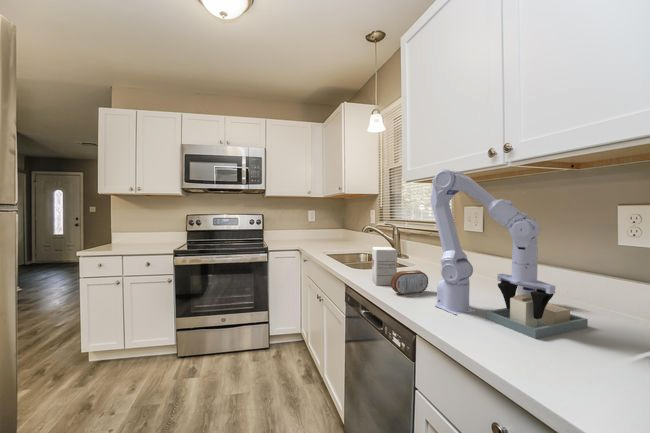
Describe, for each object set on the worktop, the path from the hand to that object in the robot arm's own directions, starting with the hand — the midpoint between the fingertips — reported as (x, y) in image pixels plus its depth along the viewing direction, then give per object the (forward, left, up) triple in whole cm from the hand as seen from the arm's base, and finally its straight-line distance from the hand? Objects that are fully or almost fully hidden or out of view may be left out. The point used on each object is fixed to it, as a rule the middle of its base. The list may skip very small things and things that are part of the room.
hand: (523, 313), depth 81 cm
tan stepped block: (0, +10, -3) cm, 10 cm away
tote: (0, +4, -4) cm, 6 cm away
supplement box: (-55, -10, -4) cm, 56 cm away
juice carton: (0, 0, -3) cm, 3 cm away
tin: (-38, -8, -4) cm, 39 cm away
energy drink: (-13, +20, -4) cm, 24 cm away
